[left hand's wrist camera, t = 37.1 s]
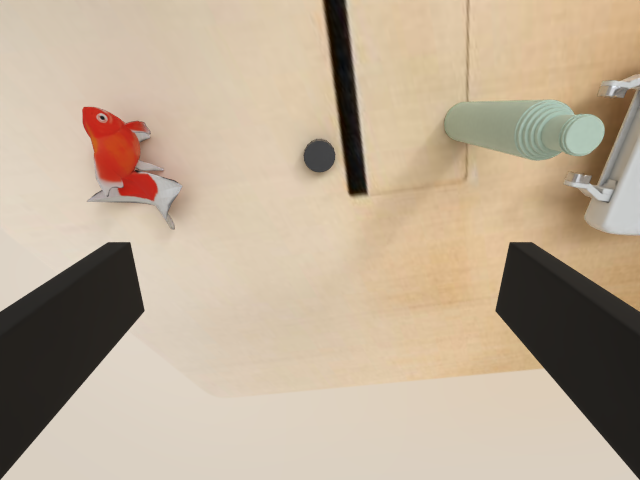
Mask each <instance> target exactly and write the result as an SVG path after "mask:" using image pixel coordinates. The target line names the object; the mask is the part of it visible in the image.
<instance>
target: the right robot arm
mask: <svg viewBox="0 0 640 480" xmlns="http://www.w3.org/2000/svg"><path fill="white" fill-rule="evenodd" d="M627 89H635V90H636V92H635V94H634V97H633V99H632V102H631V104H630V106H629V109H628V111H627V114H626V116H625V119H624V121H623V123H622V126H621V128H620V131H619V133H618V135H617V138H616V140H615V143H614V145H613V147H612V150H611V152H610V155H609V157H608V160H607V162H606V164H605V167H604V169H603V172H602V174H601V176H600V179H599V181H598V184H597V185H591V184H590V180H591V177H592V176H590V175H586V174H583V173H577V172H569V171H568V173H567V175H566V178H565V181H564V183H563V184H565V185H568V186H572V187H577V188H578V189H579V190H580V191H581V192H582V193H583V194H584V195H585V196H587V197H590V198H591V201H590V203H589V205H588V208H587V210H586V212H585V215H584V219H585V221H586V222H587V223H588V225H590V226H591V227H593V228H595V229H598V230H600V231H603V232H606V233H610V234H618V235H640V74H635V75H633V76H630V77H628V78H626V79H623V80H621V81H615V80H609V81H602V83H601V86H600V88H599V91H598V94H597V96H598V97H605V98H624V96H625V94H626V91H627Z"/></svg>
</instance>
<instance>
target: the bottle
mask: <svg viewBox="0 0 640 480" xmlns="http://www.w3.org/2000/svg"><path fill="white" fill-rule="evenodd" d="M444 128H445V131H446V133H447V135H448V136H449V137H450V138H451V139H453V140H456V141H460V142H464V143H468V144H472V145H476V146H479V147H483V148H487V149H491V150H495V151H499V152H503V153H507V154H511V155H515V156H518V157H522V158H526V159H530V160H545V159H549V158H552V157H555V156H556V155H558V154H560V153H561V152H565V153H566V154H569V155H574V156H583V155H587V154H589V153H591V151H593V150H594V149H595V148H597V147H598V145H599V144H600V143H601V141H602V139H603V137H604V132H605V129H604V124H603V122H602V121H601V120H600V119H599V118H598V117H596V116H594V115H591V114H583V115H582V114H578V115H575V114H574V113H573V111H572V110H571V108H570V107H569V106H567V105H566V104H564V103H562V102H560V101H557V100H521V101H482V102H461V103H458V104H456V105H454V106H453V107H452V108H451V109H450V110H449V111H448V113H447V115H446V117H445V121H444Z"/></svg>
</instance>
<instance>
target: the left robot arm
mask: <svg viewBox="0 0 640 480" xmlns="http://www.w3.org/2000/svg"><path fill="white" fill-rule="evenodd" d="M143 312H144V306H143V301H142V296H141V291H140V287H139V282H138V277H137V272H136V268H135V263H134V258H133V253H132V248H131V244H130V242H108V243H106V244H105V245H103V246H102V247H100V248H99V249H97V250H95V251H94V252H92V253H91V254H89V255H88V256H86V257H85V258H83V259H81V260H80V261H78V262H77V263H75V264H74V265H72V266H71V267H69V268H68V269H66V270H64V271H63V272H61V273H60V274H58V275H57V276H55V277H54V278H52V279H51V280H49V281H47V282H46V283H44V284H43V285H41V286H40V287H38V288H37V289H35V290H33V291H32V292H30V293H29V294H27V295H26V296H24V297H23V298H21V299H19V300H18V301H16V302H15V303H13V304H12V305H10V306H9V307H7V308H6V309H4V310H2V311H1V312H0V480H1V478H2V477H3V476H4V475H5V474H6V473H7V471H8V470H9V469H10V468H11V467H12V466H13V464H14V463H15V462H16V461H17V460H18V458H19V457H20V456H21V455H22V454H23V453H24V451H25V450H26V449H27V448H28V447H29V446H30V444H31V443H32V442H33V441H34V440H35V439H36V437H37V436H38V435H39V434H40V433H41V432H42V430H43V429H44V428H45V427H46V426H47V425H48V423H49V422H50V421H51V420H52V419H53V417H54V416H55V415H56V414H57V413H58V412H59V410H60V409H61V408H62V407H63V406H64V405H65V404H66V402H67V401H68V400H69V399H70V398H71V396H72V395H73V394H74V393H75V392H76V391H77V389H78V388H79V387H80V386H81V385H82V384H83V382H84V381H85V380H86V379H87V378H88V377H89V375H90V374H91V373H92V372H93V371H94V370H95V368H96V367H97V366H98V365H99V364H100V362H101V361H102V360H103V359H104V358H105V357H106V356H107V354H108V353H109V352H110V351H111V350H112V348H113V347H114V346H115V345H116V344H117V343H118V341H119V340H120V339H121V338H122V337H123V336H124V334H125V333H126V332H127V331H128V330H129V329H130V327H131V326H132V325H133V324H134V323H135V322H136V320H137V319H138V318H139V317H140V316H141V315H142V313H143ZM496 312H497V313H498V315H499V316H500V317H501V318H502V319H503V320H504V322H505V323H506V324H507V325H508V326H509V327H510V329H511V330H512V331H513V332H514V333H515V334H516V336H517V337H518V338H519V339H520V340H521V341H522V343H523V344H524V345H525V346H526V347H527V349H528V350H529V351H530V352H531V353H532V354H533V356H534V357H535V358H536V359H537V360H538V361H539V363H540V364H541V365H542V366H543V367H544V368H545V370H546V371H547V372H548V373H549V374H550V375H551V377H552V378H553V379H554V380H555V381H556V382H557V384H558V385H559V386H560V387H561V388H562V389H563V391H564V392H565V393H566V394H567V395H568V396H569V398H570V399H571V400H572V401H573V402H574V404H575V405H576V406H577V407H578V408H579V409H580V410H581V412H582V413H583V414H584V415H585V416H586V418H587V419H588V420H589V421H590V422H591V423H592V425H593V426H594V427H595V428H596V429H597V430H598V432H599V433H600V434H601V435H602V436H603V437H604V439H605V440H606V441H607V442H608V443H609V444H610V446H611V447H612V448H613V449H614V450H615V451H616V453H617V454H618V455H619V456H620V457H621V459H622V460H623V461H624V462H625V463H626V464H627V465H628V467H629V468H630V469H631V470H632V471H633V473H634V474H635V475H636V476H637V477H638V478H639V480H640V312H639V311H638V310H636V309H634V308H633V307H631V306H630V305H628V304H627V303H625V302H624V301H622V300H621V299H619V298H617V297H616V296H614V295H613V294H611V293H610V292H608V291H607V290H605V289H603V288H602V287H600V286H599V285H597V284H596V283H594V282H593V281H591V280H590V279H588V278H586V277H585V276H583V275H582V274H580V273H579V272H577V271H576V270H574V269H572V268H571V267H569V266H568V265H566V264H565V263H563V262H562V261H560V260H559V259H557V258H555V257H554V256H552V255H551V254H549V253H548V252H546V251H545V250H543V249H541V248H540V247H538V246H537V245H535V244H534V243H532V242H510V244H509V248H508V253H507V258H506V263H505V268H504V272H503V277H502V282H501V287H500V291H499V296H498V301H497V306H496Z"/></svg>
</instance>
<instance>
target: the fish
mask: <svg viewBox="0 0 640 480" xmlns="http://www.w3.org/2000/svg"><path fill="white" fill-rule="evenodd" d="M82 111H83V125H84V128H85V130H86V132H87V134H88V135H89V137H90V138H91V141H92V145H93V149H94V164H95V173H96V179H97V181H98V183H99V185H100V187H101V189H102V190H101V191H100V192H98V193H96V194H95V195H94V196H92V197H91V198H90V199H89V200H88V201H87V202H131V203H146V204H151V205H155V206H156V207H157V208H158V210H159V211H160V212H161V214H162V216H163V217H164V219H165V220H166V221H167V223H168V225H169V226H170V228H171V229H175V227H174V223H173V221H172V219H171V217H170V215H169V214H168V211H169V208H170V206H171V204H172V202H173V201H174V199H175V198H176V196H177V195H178V193H179V192H180V190H181V188H182V185H180V184H179V183H178V182H176V181H174V180H171V179H167V178H164V177H160V176H157V175H154V174H150V173H146V172H142V171H148V170H164V169H162V168H160V167H157V166H155V165H153V164H150V163H146V162H143V161H140V160H139V157H140V143H139V142H141V141H143V140H146V139H149V138H150V135H149V134H151V133H150V130H149V129H148V128H147V126H146V124H145V123H144V122H139V121H133V122H129V123H125V122H123V121H122V120H121V119H119V118H118V117H116V116H114V115H113V114H111V113H109V112H107V111H105V110H103V109H100V108H96V107H84V108H83V110H82ZM135 168H137V169H138V170H142V171H138V170H135V171H134V169H135Z"/></svg>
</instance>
